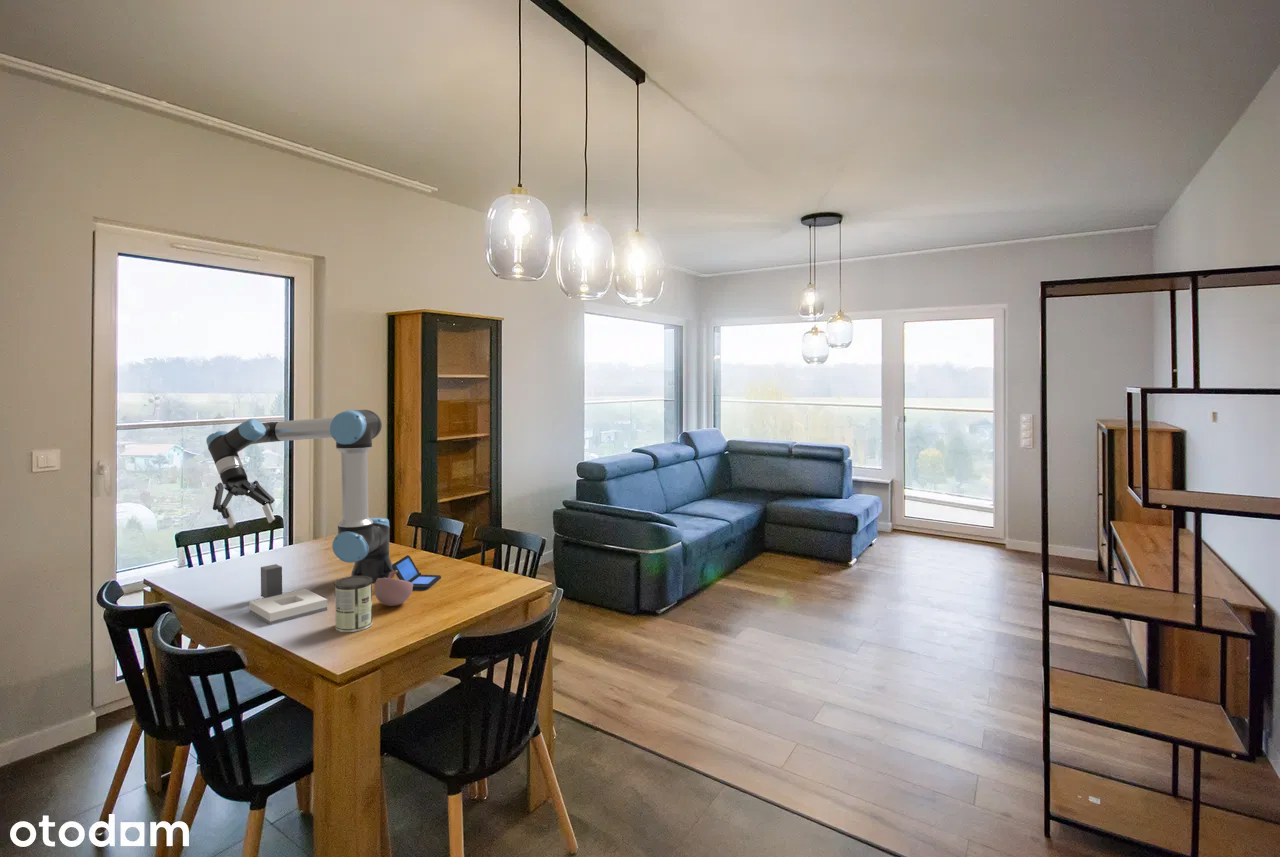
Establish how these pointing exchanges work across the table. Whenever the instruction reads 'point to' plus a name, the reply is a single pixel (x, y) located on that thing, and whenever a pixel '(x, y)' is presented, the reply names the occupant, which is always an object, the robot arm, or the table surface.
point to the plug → (271, 580)
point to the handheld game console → (413, 574)
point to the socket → (287, 606)
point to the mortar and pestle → (392, 590)
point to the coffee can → (353, 603)
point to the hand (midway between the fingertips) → (253, 523)
